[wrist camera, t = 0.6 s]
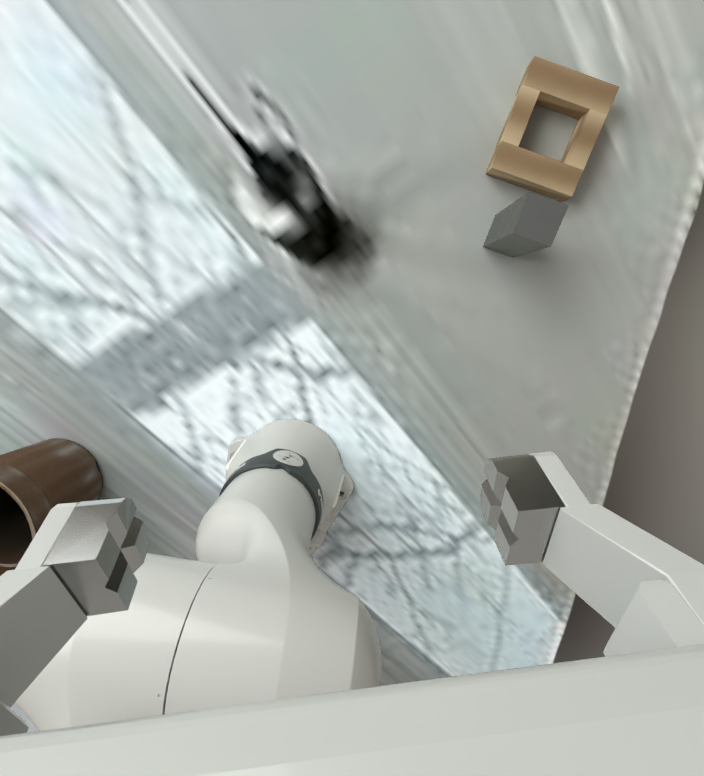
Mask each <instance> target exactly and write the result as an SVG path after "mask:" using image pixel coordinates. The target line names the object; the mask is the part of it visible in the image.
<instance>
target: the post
mask: <svg viewBox="0 0 704 776" xmlns="http://www.w3.org/2000/svg"><path fill="white" fill-rule="evenodd" d="M567 208H568V205H565V204H562V203H560V202H557V201H554V200H551V199H548V198H546V197H543V196H540V195H537V194H535V193H532V192H528V193H527V194H525V195H524V196H523V197H521V198H520V199H518V200H517V201H515V202H514V203H512V204H511V205H509V206H508V207H507V208H505V209H504V210H502V211H501V212H499V213H498V214H496V215H495V218H494V220H493V223H492V225H491V228H490V230H489V233H488V235H487V238H486V240H485V243H484V245H483V247H485V248H488V249H491V250H494V251H497V252H499V253H502V254H505V255H508V256H511V257H515V256H519V255H522V254H526V253H529V252H533V251H537V250H540V249H544V248H547V247H551V245H552V243H553V240H554V238H555V236H556V233H557V231H558V229H559V226H560V224H561V222H562V219H563V217H564V215H565V212H566V210H567Z"/></svg>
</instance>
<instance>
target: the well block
mask: <svg viewBox="0 0 704 776" xmlns="http://www.w3.org/2000/svg"><path fill="white" fill-rule="evenodd" d="M618 89H619V87H618V86H616V85H613V84H610V83H607V82H605V81H602V80H599V79H596V78H594V77H591V76H588V75H585V74H583V73H580V72H577V71H574V70H572V69H569V68H566V67H563V66H561V65H558V64H555V63H552V62H550V61H547V60H544V59H542V58H539V57H536V56H534V58H533V59H532V61H531V63H530V64H529V66H528V67H527V69H526V71H525V73H524V76H523V79H522V81H521V84H520V86H519V89H518V92H517V94H516V97H515V99H514V102H513V105H512V107H511V110H510V112H509V115H508V118H507V120H506V123H505V125H504V128H503V131H502V133H501V136H500V138H499V141H498V144H497V146H496V149H495V151H494V154H493V157H492V159H491V162H490V164H489V167H488V170H487V172H486V174H487V175H489V176H492V177H495V178H498V179H500V180H503V181H506V182H509V183H511V184H514V185H517V186H520V187H523V188H525V189H528V190H531V191H534V192H536V193H539V194H542V195H545V196H547V197H550V198H553V199H556V200H559V201H561V202H562V201H564V200H566V199H568V198H570V197H572V195H573V193H574V191H575V188H576V186H577V184H578V182H579V179H580V177H581V175H582V172H583V170H584V168H585V165H586V163H587V161H588V158H589V156H590V154H591V151H592V149H593V147H594V144H595V142H596V140H597V137H598V135H599V133H600V130H601V128H602V126H603V124H604V121H605V119H606V117H607V114H608V112H609V110H610V107H611V105H612V103H613V100H614V98H615V96H616V93H617V91H618ZM535 104H537V105H540V106H543V107H546V108H548V109H551V110H554V111H557V112H559V113H562V114H565V115H568V116H570V117H573V118H576V119H579V120H578V122H577V125H576V127H575V130H574V132H573V134H572V137H571V139H570V142H569V144H568V146H567V149H566V151H565V153H564V156H563V158H562V161H561V162H560V161H557V160H554V159H551V158H549V157H546V156H543V155H540V154H538V153H535V152H532V151H529V150H526V149H524V148H521V147H518V146H519V144H520V141H521V139H522V136H523V133H524V131H525V128H526V126H527V123H528V121H529V118H530V116H531V113H532V111H533V108H534V106H535Z"/></svg>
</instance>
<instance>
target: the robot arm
mask: <svg viewBox="0 0 704 776" xmlns="http://www.w3.org/2000/svg"><path fill="white" fill-rule="evenodd" d="M226 470H227V471H226V482H225V484H224V486H223V488H222V490H221V493H220V495H219V498H218V499H217V500H216V502H215V503H214V504H213V505H212V507H211V508H210V509H209V510H208V512H207V513H206V514H205V516H204V517H203V519H202V521H201V523H200V525H199V528H198V532H197V536H196V554H197V558H198V561H195V560H189V559H182V558H176V557H170V556H164V555H157V554H151V553H147V549H148V534H147V529H146V527H145V525H144V523H143V521H141V520H139V519H138V518H136V517H134V514H135V511H136V509H137V508H136V507H135V505H134V503H133V501H132V499H130V498H118V499H106V500H94V501H82V502H75V503H63V504H57V505H56V506H55V507H53V508H52V509H51V510H50V512H49V513H48V515H47V517H46V518H45V520H44V522H43V523H42V525H41V527H40V528H39V530H38V532H37V533H36V535H35V537H34V538H33V540H32V542H31V543H30V545H29V547H28V548H27V550H26V552H25V553H24V555H23V557H22V558H21V560H20V562H19V563H18V565H17V567H16V568H15V570H8V571H6V572H5V573H4V574H2V575H1V576H0V776H704V565H703V564H701V563H699V562H698V561H696V560H694V559H692V558H691V557H689V556H687V555H685V554H684V553H682V552H680V551H678V550H677V549H675V548H673V547H672V546H670V545H668V544H666V543H665V542H663V541H661V540H659V539H658V538H656V537H654V536H652V535H651V534H649V533H647V532H646V531H644V530H642V529H640V528H638V527H637V526H635V525H633V524H632V523H630V522H628V521H626V520H625V519H623V518H621V517H620V516H618V515H616V514H614V513H613V512H611V511H609V510H607V509H606V508H604V507H602V506H600V505H599V504H590V502H589V501H588V499H587V498H586V497H585V495H584V494H583V492H582V491H581V490H580V488H579V487H578V485H577V484H576V482H575V481H574V480H573V478H572V477H571V475H570V474H569V473H568V471H567V470H566V468H565V467H564V466H563V464H562V463H561V461H560V460H559V458H558V457H557V456H556V454H554V453H553V452H542V453H533V454H529V455H528V454H525V455H516V456H508V457H499V458H491V459H487V461H486V462H485V466H484V473H485V475H486V477H487V479H486V480H485V481H484V482H483V483H482V484H481V492H480V498H481V507H482V510H483V514H484V517H485V519H486V522H487V524H488V525H490V526H491V527H492V528H494V529H495V530H496V534H495V543H496V545H497V547H498V550H499V552H500V554H501V556H502V559H503V561H504V563H505V565H515V564H526V563H537V562H543V563H542V564H543V565H544V566H545V567H547V568H548V569H549V570H550V571H551V572H552V573H553V574H555V575H556V576H557V577H558V578H559V579H560V580H561V581H563V582H564V583H565V584H566V585H567V586H568V587H569V588H571V589H572V590H573V591H574V592H575V593H576V594H577V595H579V596H580V597H581V598H582V599H583V600H584V601H586V602H587V603H588V604H589V605H590V606H591V607H592V608H593V609H595V610H596V611H597V612H598V613H599V614H601V616H603V617H604V618H605V619H606V620H607V621H608V622H609V623H611V624H612V625H613V626H614V627H615V630H614V632H613V634H612V636H611V638H610V639H609V641H608V643H607V645H606V647H605V649H604V652H603V653H604V655H605V657H600V658H592V659H584V660H577V661H569V662H561V663H553V664H546V665H538V666H530V667H523V668H515V669H508V670H500V671H492V672H485V673H477V674H469V675H462V676H454V677H446V678H439V679H431V680H423V681H416V682H408V683H400V684H393V685H385V686H379V685H380V679H381V651H380V644H379V639H378V635H377V632H376V629H375V626H374V623H373V621H372V619H371V616H370V614H369V612H368V611H367V609H366V607H365V606H364V604H363V603H362V602H361V600H360V599H359V598H358V597H357V596H355V595H353V594H351V593H350V592H348V591H346V590H345V589H343V588H342V587H340V586H339V585H338V584H336V583H335V582H334V581H332V580H331V579H330V578H329V577H328V576H327V575H326V574H325V573H324V572H323V571H322V570H321V569H320V568H319V567H318V566H317V564H316V563H315V562H314V560H313V559H312V557H311V555H312V554H313V552H314V551H315V549H316V548H320V546H321V545H322V543H323V541H324V539H325V536H326V532H327V530H328V529H329V527H330V526H331V524H332V522H333V521H334V519H335V518H336V516H337V515H338V513H339V512H340V510H341V508H342V507H343V505H344V504H345V502H346V501H347V499H348V497H349V496H350V494H351V493H352V491H353V488H354V483H353V480H352V479H351V477H350V476H349V475H348V473H347V472H346V471H345V470H344V468H343V466H342V463H341V459H340V455H339V453H338V450H337V448H336V446H335V444H334V443H333V441H332V440H331V439H330V438H329V436H328V435H327V434H326V433H324V432H323V431H322V430H321V429H319V428H318V427H316V426H314V425H312V424H310V423H308V422H305V421H301V420H295V419H284V420H278V421H274V422H271V423H269V424H267V425H265V426H263V427H262V428H260V429H259V430H258V431H256V432H255V433H253V434H252V435H250V436H246V437H241V438H238V439H235V440H233V441H232V442H231V444H230V445H229V448H228V459H227V466H226ZM340 491H343V492H344V494H340ZM14 703H15V704H16V705H17V706H18V707H19V708H20V709H21V710H22V711H23V712H24V713H25V714H26V716H27V717H28V718H29V719H30V721H31V722H32V723H33V724H34V726H35V727H36V728H37V729H38V731H35V732H28V733H27V731H28V728H29V727H28V725H27V722H26V721H25V720H24V719H23V718H22V717H21V716H20V715H18V714H17V713H16V712H15V711H14V710H12V709H11V708H10V707H11V706H12V705H13V704H14Z"/></svg>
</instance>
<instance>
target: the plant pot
mask: <svg viewBox="0 0 704 776" xmlns="http://www.w3.org/2000/svg"><path fill="white" fill-rule="evenodd" d="M101 489H102V475H101V473H100V472H99V471H98V469H97V466H96V460H95V459H94V458H93V456H92V455H91V454H90V453H89V452H88V451H87V450H86V449H84V448H83V447H81V446H80V445H78V444H76V443H74V442H72V441H69V440H65V439H56V438H55V439H49V440H44V441H41V442H38V443H35V444H32V445H30V446H27V447H24V448H21V449H18V450H15V451H12V452H9V453H6V454H3V455H0V576H1V575H2V574H4V573H5V572H6V571H8V570H15V568H16V567H17V565H18V563H19V562H20V560H21V558H22V557H23V555H24V553H25V552H26V550H27V548H28V547H29V545H30V543H31V542H32V540H33V538H34V537H35V535H36V533H37V532H38V530H39V528H40V527H41V525H42V523H43V522H44V520H45V518H46V517H47V515H48V513H49V512H50V510H51V509H52V508H53V507H55V506H56V505H57V504H63V503H75V502H82V501H94V500H97V499H98V497H99V495H100V492H101Z"/></svg>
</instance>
